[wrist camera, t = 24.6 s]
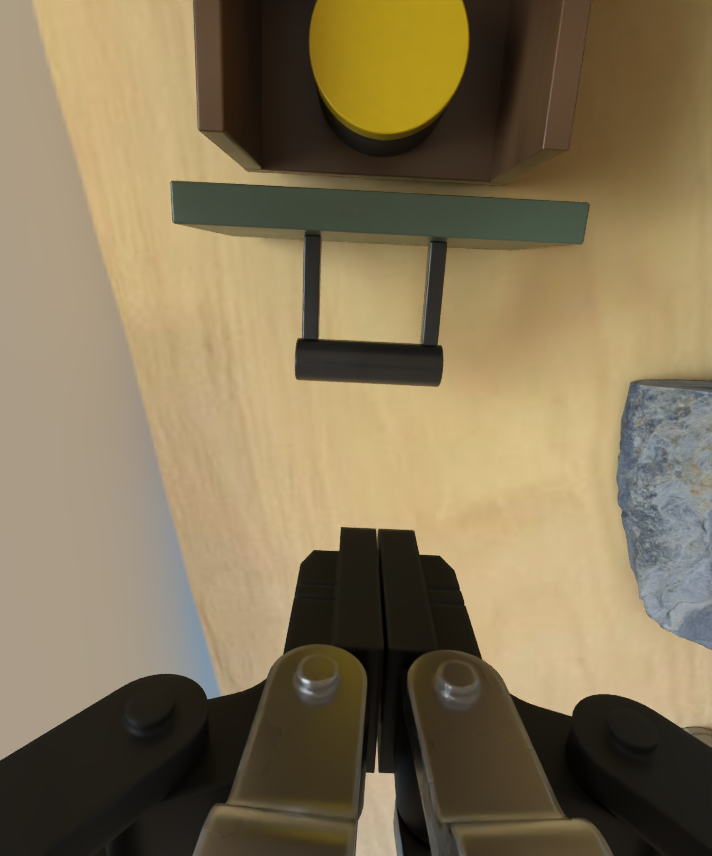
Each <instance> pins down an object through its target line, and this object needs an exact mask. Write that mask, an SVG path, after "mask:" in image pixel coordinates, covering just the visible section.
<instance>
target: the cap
mask: <svg viewBox="0 0 712 856" xmlns="http://www.w3.org/2000/svg"><path fill="white" fill-rule="evenodd" d="M469 44H470V33H469V22H468V17H467V12H466V9H465V5H464V2H463V0H317V2H316V4H315V7H314V10H313V14H312V18H311V23H310V29H309V55H310V62H311V67H312V71H313V76H314V80H315V84H316V88H317V93H318V97H319V101H320V105H321V109H322V111H323V114H324V116H325V119H326V120H327V122H328V124H329V126H330V127H331V129H332V130H333V132H334V133H335V134H336V135H337V136H338V137H339V138H340V140H341V141H343V142H344V143H345V144H346V145H348V146H349V147H351V148H352V149H354V150H356V151H358V152H360V153H362V154H366V155H369V156H375V157H390V156H396V155H399V154H402V153H405V152H407V151H409V150H411V149H413V148H415V147H416V146H418V145H419V144H420V143H421V142H423V141H424V140H425V139H426V138H427V137H428V136H429V135H430V134H431V132H432V131H433V130H434V128H435V127H436V126H437V124H438V122H439V121H440V119H441V117H442V115H443V114H444V112H445V110H446V108H447V107H448V105H449V103H450V101H451V99H452V98H453V96H454V94H455V92H456V90H457V89H458V87H459V85H460V83H461V80H462V77H463V75H464V72H465V68H466V65H467V61H468V54H469Z"/></svg>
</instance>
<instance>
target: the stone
mask: <svg viewBox="0 0 712 856" xmlns="http://www.w3.org/2000/svg"><path fill="white" fill-rule="evenodd" d="M617 484H618V488H619V492H618V505H619V506H620V507H621V509H622V515H621V517H622V523H623V526H624V529H625V532H626V537H627V544H628V552H629V559H630V565H631V569H632V570H633V572H634V574H635V576H636V579H637V582H638V586H639V596H640V599H642V600H643V602H644V606H645V610H646V613H647V614H648V616H649V617H650V618H652V619H653V620H655V621H656V622H657V623H658V624H659V625H660V626H661V628H663V629H665V630H667V631H670V632H672V633H674V634H675V635H677V636H678V637H681V638H685V639H687V640H690V641H693V642H695V643H698V644H701V645H703V646H704V647H706V648H708V649H711V650H712V381H699V380H638V381H633V382H631V383H630V388H629V392H628V397H627V401H626V404H625V410H624V413H623V415H622V419H621V440H620V454H619V456H618V470H617Z"/></svg>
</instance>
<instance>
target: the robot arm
mask: <svg viewBox="0 0 712 856" xmlns="http://www.w3.org/2000/svg"><path fill="white" fill-rule="evenodd" d="M376 744H378V769H379V773H394V776H395V790H396V801H395V811H394V822H393V824H394V835H395V843H396V850H397V856H712V747H710V746H708V745H707V744H705V743H704V742H702V741H701V740H699V739H698V738H696V737H694V736H693V735H691V734H690V733H688V732H687V731H685V730H684V729H682V728H680V727H679V726H677V725H676V724H674V723H673V722H671V721H670V720H668V719H666V718H665V717H663V716H662V715H660V714H659V713H657V712H656V711H654V710H652V709H650V708H649V707H647V706H645V705H643V704H641V703H639V702H636V701H634V700H631V699H628V698H625V697H621V696H617V695H609V694H598V695H592V696H589V697H586V698H584V699H583V700H581V701H580V702H579V703H578V704H577V705H576V706H575V709H574V711H573V714H572V717H571V716H568V715H565V714H561V713H558V712H555V711H551V710H548V709H545V708H541V707H538V706H535V705H532V704H530V703H527V702H525V701H523V700H521V699H518V698H517V697H515V696H513V695H512V694H510V693H509V691H508V689H507V687H506V684H505V683H504V681H503V679H502V677H501V676H500V675H499V673H498V672H497V671H496V670H495V669H494V668H493V667H492V666H490V665H489V664H488V663H486V662H485V661H483V660H482V657H481V654H480V651H479V648H478V644H477V641H476V638H475V635H474V632H473V628H472V625H471V622H470V619H469V616H468V612H467V609H466V606H464V600H463V596H462V593H461V591H460V587H459V584H458V581H457V577H456V574H455V571H454V570H453V569H452V568H451V567H450V566H449V565H448V564H447V563H446V562H445V561H444V560H443V559H442V558H441V557H440V556H434V555H419V551H418V546H417V541H416V537H415V532H414V530H396V529H378V536H377V537H376V529H371V528H349V527H341V535H340V550H339V551H321V550H314V551H313V552H312V553H311V554H310V555H309V556H308V557H307V558H306V559H305V560H304V561H303V562H302V563H301V565H300V570H299V575H298V580H297V586H296V591H295V598H294V601H293V606H292V612H291V617H290V622H289V627H288V633H287V638H286V643H285V648H284V653H283V655H282V656H281V657H280V658H279V659H278V660H277V661H276V662H275V663H274V664H273V666H272V667H271V669H270V672H269V674H268V677H267V679H265V680H264V681H263V682H261V683H259V684H258V685H256V686H254V687H252V688H250V689H247V690H245V691H242V692H238V693H235V694H230V695H226V696H221V697H217V698H213V699H208V700H207V697H206V694H205V692H204V690H203V689H202V688H201V687H200V685H199V684H198V683H196V682H195V681H193V680H191V679H189V678H187V677H184V676H180V675H175V674H158V675H152V676H148V677H144V678H140V679H138V680H135V681H133V682H130V683H129V684H127V685H125V686H123V687H121V688H119V689H118V690H116V691H114V692H113V693H111V694H110V695H108V696H106V697H105V698H103V699H101V700H100V701H98V702H96V703H95V704H93V705H91V706H90V707H88V708H86V709H85V710H83V711H81V712H80V713H78V714H76V715H75V716H73V717H71V718H70V719H68V720H67V721H65V722H63V723H62V724H60V725H58V726H57V727H55V728H53V729H52V730H50V731H48V732H47V733H45V734H43V735H42V736H40V737H38V738H37V739H35V740H34V741H32V742H30V743H29V744H27V745H25V746H24V747H22V748H20V749H19V750H17V751H15V752H14V753H12V754H10V755H9V756H7V757H5V758H4V759H2V760H1V761H0V856H355V853H356V840H357V826H358V820H359V818H360V815H361V813H362V809H363V803H364V790H365V776H366V772H368V773H374V769H375V757H376Z"/></svg>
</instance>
